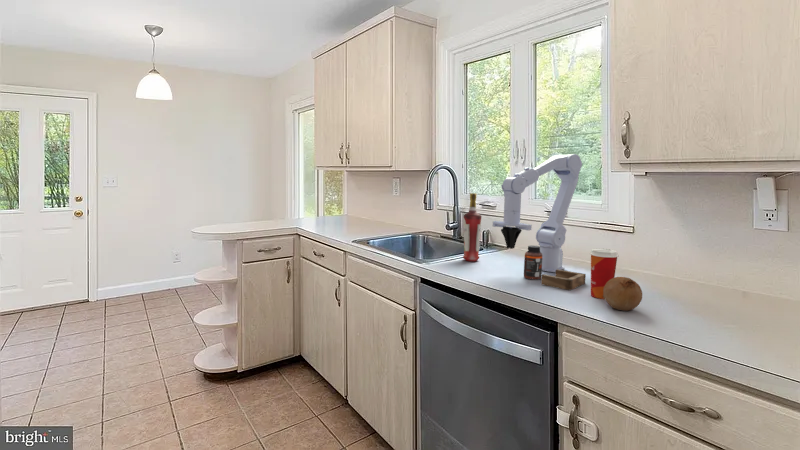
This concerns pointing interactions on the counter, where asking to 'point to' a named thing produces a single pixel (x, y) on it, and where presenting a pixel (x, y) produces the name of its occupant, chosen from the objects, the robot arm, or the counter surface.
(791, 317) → the counter surface
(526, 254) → the supplement bottle
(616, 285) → the onion
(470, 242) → the liquor
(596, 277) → the paper cup
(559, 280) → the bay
